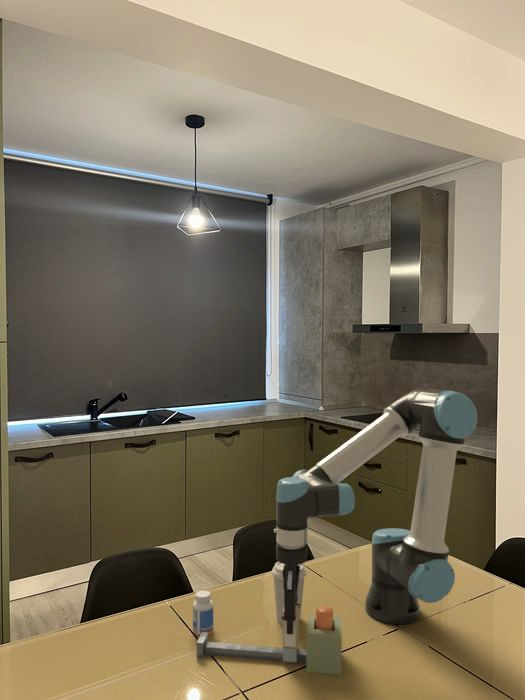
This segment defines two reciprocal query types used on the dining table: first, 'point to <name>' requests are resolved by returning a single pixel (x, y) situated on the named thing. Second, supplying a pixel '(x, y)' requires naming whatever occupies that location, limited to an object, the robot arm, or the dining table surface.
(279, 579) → the coffee cup
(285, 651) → the carriage
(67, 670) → the dining table surface
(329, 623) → the orange rounded piece
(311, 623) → the green square holder
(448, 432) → the robot arm
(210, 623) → the pill bottle
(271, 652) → the rail
